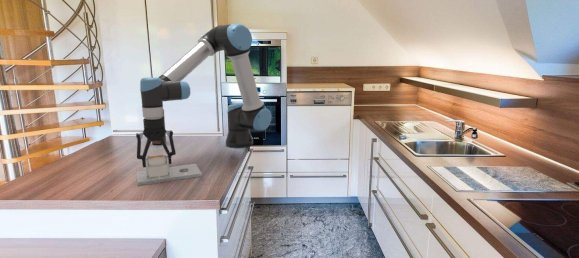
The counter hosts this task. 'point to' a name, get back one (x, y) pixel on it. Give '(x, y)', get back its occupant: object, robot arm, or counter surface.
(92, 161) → the counter surface
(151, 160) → the knob
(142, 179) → the panel
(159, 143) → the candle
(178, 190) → the counter surface
